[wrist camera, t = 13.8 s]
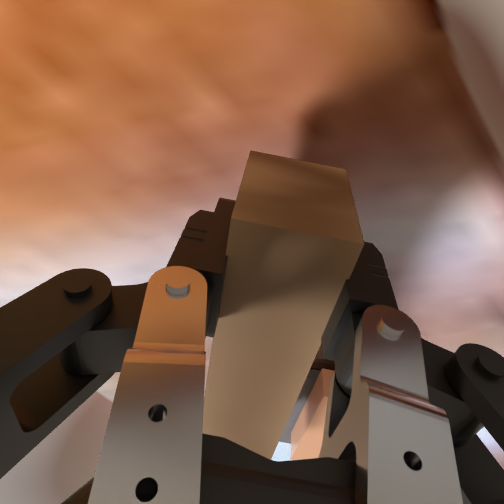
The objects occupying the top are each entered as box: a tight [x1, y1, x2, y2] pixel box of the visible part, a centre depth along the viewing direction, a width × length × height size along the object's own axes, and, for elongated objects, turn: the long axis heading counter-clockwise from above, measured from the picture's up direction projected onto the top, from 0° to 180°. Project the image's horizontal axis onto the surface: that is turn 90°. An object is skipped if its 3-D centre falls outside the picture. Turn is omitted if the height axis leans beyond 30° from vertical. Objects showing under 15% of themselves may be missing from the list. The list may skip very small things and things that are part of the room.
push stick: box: [202, 151, 364, 460], centre depth 14 cm, size 3×16×4 cm, turn 171°
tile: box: [291, 368, 334, 460], centre depth 21 cm, size 8×2×7 cm
